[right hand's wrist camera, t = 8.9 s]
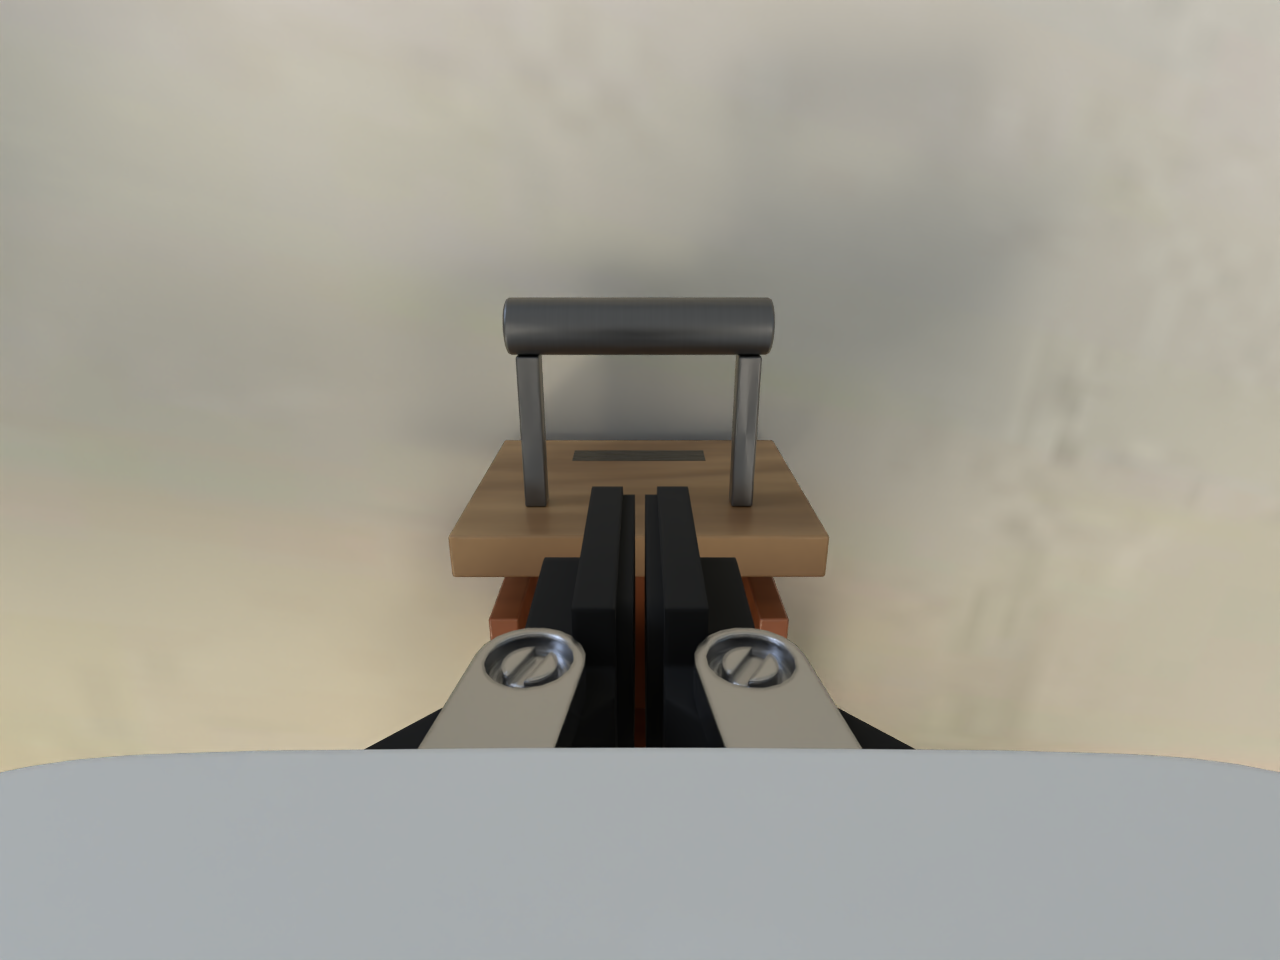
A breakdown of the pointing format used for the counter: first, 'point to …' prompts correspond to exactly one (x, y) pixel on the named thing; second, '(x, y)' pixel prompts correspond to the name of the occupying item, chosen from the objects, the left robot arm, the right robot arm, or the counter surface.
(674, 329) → the drawer
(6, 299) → the counter surface
